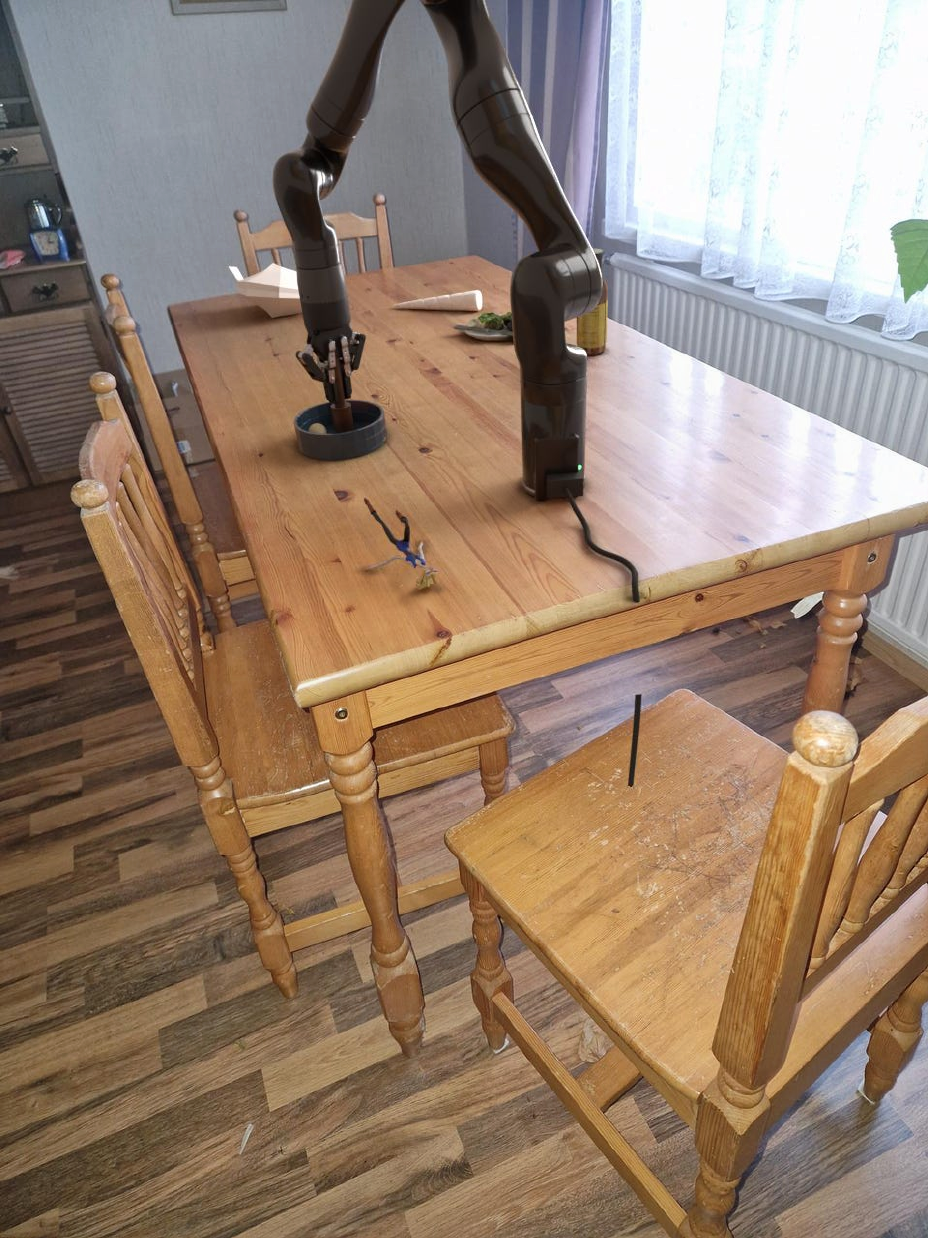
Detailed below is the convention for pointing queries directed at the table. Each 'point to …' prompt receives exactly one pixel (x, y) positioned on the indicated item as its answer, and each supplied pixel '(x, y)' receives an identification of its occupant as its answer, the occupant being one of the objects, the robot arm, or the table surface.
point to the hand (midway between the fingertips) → (339, 399)
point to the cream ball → (317, 428)
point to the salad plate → (489, 327)
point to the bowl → (341, 445)
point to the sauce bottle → (594, 320)
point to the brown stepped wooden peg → (341, 406)
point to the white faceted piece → (271, 290)
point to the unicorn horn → (447, 302)
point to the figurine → (405, 550)
